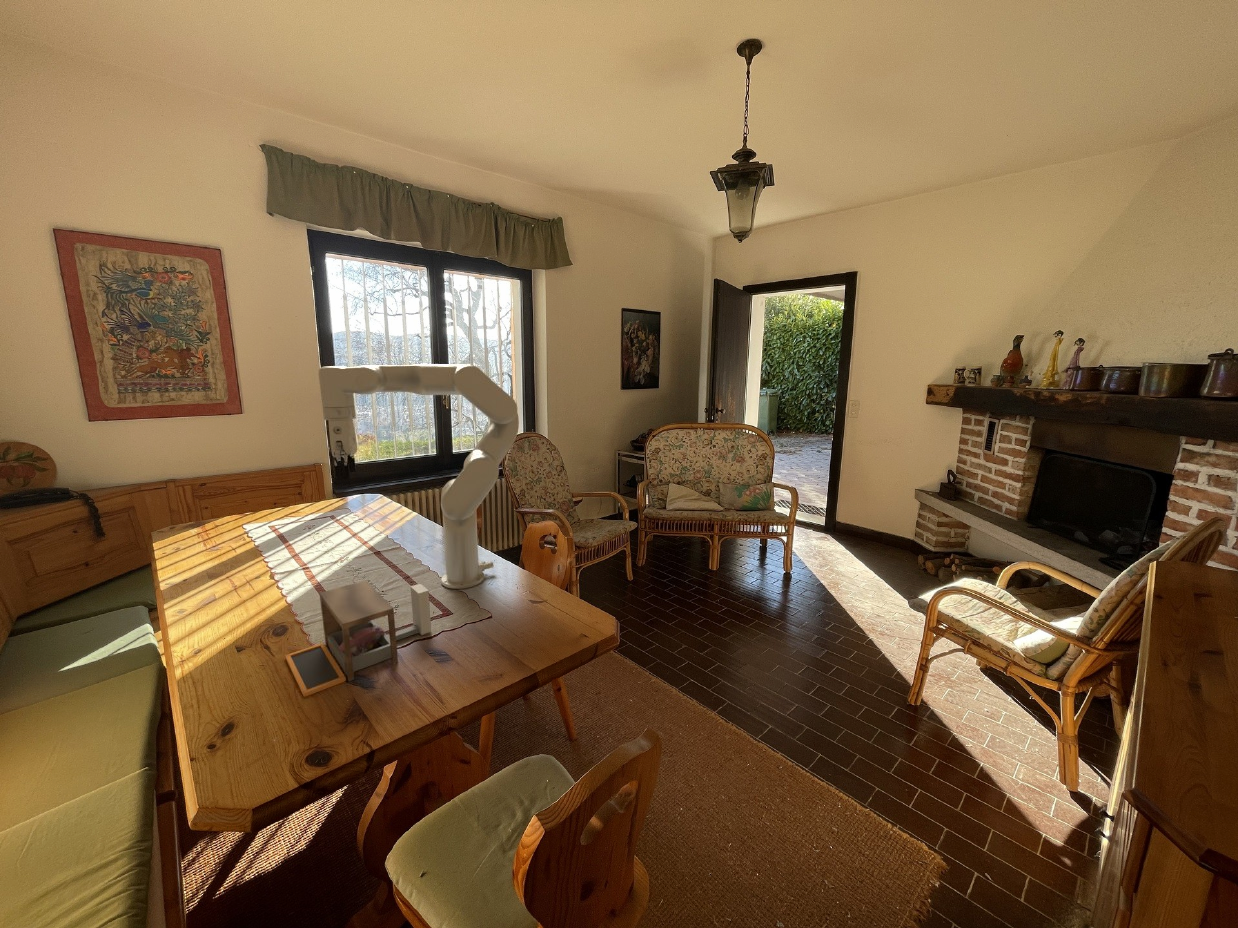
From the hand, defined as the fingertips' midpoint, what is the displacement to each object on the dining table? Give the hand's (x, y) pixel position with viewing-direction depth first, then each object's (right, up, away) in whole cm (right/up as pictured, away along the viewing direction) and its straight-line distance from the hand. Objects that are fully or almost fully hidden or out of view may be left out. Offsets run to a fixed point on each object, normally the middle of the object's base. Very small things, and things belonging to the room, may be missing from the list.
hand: (346, 475), depth 135 cm
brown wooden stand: (+15, -40, -22) cm, 48 cm away
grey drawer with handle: (+19, -39, -18) cm, 47 cm away
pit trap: (+9, -41, -28) cm, 51 cm away
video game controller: (+16, -40, -22) cm, 48 cm away
